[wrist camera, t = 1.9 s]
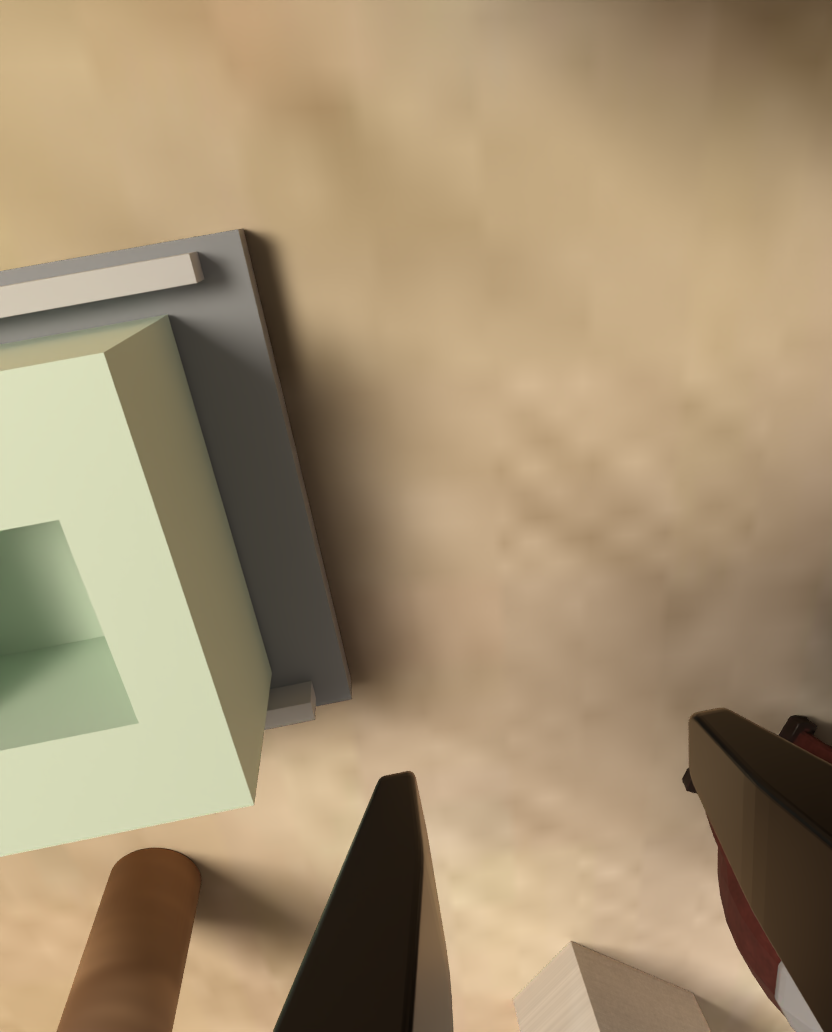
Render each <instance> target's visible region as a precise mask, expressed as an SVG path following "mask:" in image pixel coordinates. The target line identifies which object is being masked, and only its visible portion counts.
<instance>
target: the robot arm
mask: <svg viewBox="0 0 832 1032" xmlns="http://www.w3.org/2000/svg"><path fill="white" fill-rule="evenodd" d="M688 726H689V770H690V775H691V779H692V782H693V784H694V787H695V789H696V791H697V794H698V796H699V798H700V800H701V802H702V804H703V807H704V809H705V811H706V813H707V815H708V817H709V819H710V822H711V824H712V826H713V828H714V830H715V832H716V835H717V837H718V839H719V841H720V843H721V845H722V848H723V850H724V852H725V854H726V856H727V858H728V861H729V863H730V865H731V867H732V869H733V871H734V874H735V876H736V878H737V880H738V882H739V884H740V887H741V889H742V891H743V893H744V895H745V897H746V899H747V901H748V903H749V905H750V907H751V909H752V911H753V913H754V915H755V916H756V918H757V920H758V922H759V923H760V925H761V927H762V929H763V931H764V932H765V934H766V936H767V937H768V939H769V941H770V942H771V944H772V946H773V948H774V949H775V951H776V953H777V954H778V956H779V958H780V959H781V961H782V963H783V964H784V966H785V968H786V969H787V971H788V973H789V975H790V976H791V978H792V980H793V981H794V983H795V985H796V986H797V988H798V990H799V991H800V993H801V995H802V996H803V998H804V1000H805V1002H806V1003H807V1005H808V1007H809V1008H810V1010H811V1012H812V1013H813V1015H814V1017H815V1018H816V1020H817V1022H818V1024H819V1025H820V1027H821V1029H822V1030H823V1032H832V764H830V763H828V762H826V761H824V760H823V759H821V758H819V757H817V756H815V755H813V754H811V753H809V752H808V751H806V750H804V749H802V748H800V747H798V746H796V745H794V744H793V743H791V742H789V741H787V740H785V739H783V738H781V737H780V736H778V735H776V734H774V733H772V732H770V731H768V730H766V729H765V728H763V727H761V726H759V725H757V724H755V723H753V722H751V721H750V720H748V719H746V718H744V717H742V716H740V715H738V714H737V713H735V712H733V711H731V710H729V709H726V708H716V709H711V710H706V711H701V712H696V713H694V714H692V715H691V716H690V719H689V725H688ZM273 1032H453V1014H452V995H451V983H450V971H449V964H448V956H447V949H446V943H445V937H444V931H443V925H442V919H441V913H440V907H439V901H438V895H437V889H436V883H435V877H434V871H433V865H432V859H431V853H430V847H429V841H428V835H427V829H426V824H425V819H424V815H423V810H422V805H421V800H420V796H419V791H418V786H417V781H416V777H415V775H414V773H413V772H411V771H406V772H401V773H396V774H391V775H386V776H383V777H381V778H380V779H379V781H378V783H377V785H376V787H375V789H374V792H373V794H372V797H371V799H370V801H369V804H368V806H367V809H366V811H365V813H364V816H363V818H362V820H361V823H360V825H359V828H358V830H357V832H356V835H355V837H354V839H353V842H352V844H351V847H350V849H349V851H348V854H347V856H346V859H345V861H344V863H343V866H342V868H341V870H340V873H339V875H338V878H337V880H336V882H335V885H334V887H333V889H332V892H331V894H330V897H329V899H328V901H327V904H326V906H325V909H324V911H323V913H322V916H321V918H320V920H319V923H318V925H317V928H316V930H315V932H314V935H313V937H312V939H311V942H310V944H309V947H308V949H307V951H306V954H305V956H304V959H303V961H302V963H301V966H300V968H299V970H298V973H297V975H296V978H295V980H294V982H293V985H292V987H291V989H290V992H289V994H288V997H287V999H286V1001H285V1004H284V1006H283V1009H282V1011H281V1013H280V1016H279V1018H278V1020H277V1023H276V1025H275V1028H274V1030H273Z"/></svg>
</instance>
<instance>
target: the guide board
mask: <svg viewBox="0 0 832 1032" xmlns="http://www.w3.org/2000/svg"><path fill="white" fill-rule="evenodd" d="M167 314H168V317H169V321H170V324H171V327H172V331H173V334H174V338H175V341H176V345H177V348H178V351H179V355H180V358H181V362H182V365H183V369H184V372H185V375H186V379H187V382H188V386H189V389H190V393H191V396H192V400H193V403H194V406H195V410H196V413H197V417H198V420H199V424H200V427H201V430H202V434H203V437H204V441H205V444H206V448H207V451H208V454H209V458H210V461H211V465H212V468H213V472H214V475H215V479H216V482H217V485H218V489H219V492H220V496H221V499H222V503H223V506H224V509H225V513H226V516H227V520H228V523H229V527H230V530H231V533H232V537H233V540H234V544H235V547H236V551H237V554H238V558H239V561H240V564H241V568H242V571H243V575H244V578H245V582H246V585H247V588H248V592H249V595H250V599H251V602H252V606H253V609H254V612H255V616H256V619H257V623H258V626H259V630H260V633H261V637H262V640H263V643H264V647H265V650H266V654H267V657H268V661H269V664H270V667H271V671H272V677H271V684H270V691H269V699H268V706H267V714H266V721H265V728H264V730H266V729H271V728H276V727H281V726H286V725H291V724H296V723H301V722H306V721H311V720H315V711H316V706H320V705H325V704H330V703H335V702H340V701H345V700H350V699H352V692H351V677H350V673H349V669H348V664H347V660H346V656H345V652H344V648H343V644H342V639H341V635H340V631H339V627H338V623H337V619H336V614H335V610H334V606H333V602H332V598H331V593H330V589H329V585H328V581H327V577H326V573H325V568H324V564H323V560H322V556H321V552H320V547H319V543H318V539H317V535H316V531H315V527H314V522H313V518H312V514H311V510H310V506H309V501H308V497H307V493H306V489H305V485H304V481H303V476H302V472H301V468H300V464H299V460H298V456H297V451H296V447H295V443H294V439H293V435H292V430H291V426H290V422H289V418H288V414H287V410H286V405H285V401H284V397H283V393H282V389H281V384H280V380H279V376H278V372H277V368H276V364H275V359H274V355H273V351H272V347H271V343H270V338H269V334H268V330H267V326H266V322H265V318H264V313H263V309H262V305H261V301H260V297H259V293H258V288H257V284H256V280H255V276H254V272H253V267H252V263H251V259H250V255H249V251H248V247H247V242H246V238H245V234H244V230H243V229H237V230H232V231H226V232H220V233H215V234H209V235H203V236H198V237H192V238H186V239H181V240H175V241H169V242H163V243H158V244H152V245H146V246H141V247H135V248H129V249H124V250H118V251H112V252H107V253H101V254H95V255H90V256H84V257H78V258H73V259H67V260H61V261H56V262H50V263H44V264H39V265H33V266H27V267H21V268H16V269H10V270H4V271H0V344H6V343H11V342H17V341H22V340H28V339H34V338H39V337H45V336H50V335H56V334H61V333H67V332H73V331H78V330H84V329H89V328H95V327H100V326H106V325H112V324H117V323H123V322H128V321H134V320H139V319H145V318H151V317H156V316H162V315H167Z"/></svg>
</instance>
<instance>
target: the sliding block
mask: <svg viewBox="0 0 832 1032" xmlns="http://www.w3.org/2000/svg"><path fill="white" fill-rule="evenodd" d="M271 677H272V671H271V667H270V664H269V661H268V657H267V654H266V650H265V647H264V643H263V640H262V637H261V633H260V630H259V626H258V623H257V619H256V616H255V612H254V609H253V606H252V602H251V599H250V595H249V592H248V588H247V585H246V582H245V578H244V575H243V571H242V568H241V564H240V561H239V558H238V554H237V551H236V547H235V544H234V540H233V537H232V533H231V530H230V527H229V523H228V520H227V516H226V513H225V509H224V506H223V503H222V499H221V496H220V492H219V489H218V485H217V482H216V479H215V475H214V472H213V468H212V465H211V461H210V458H209V454H208V451H207V448H206V444H205V441H204V437H203V434H202V430H201V427H200V424H199V420H198V417H197V413H196V410H195V406H194V403H193V400H192V396H191V393H190V389H189V386H188V382H187V379H186V375H185V372H184V369H183V365H182V362H181V358H180V355H179V351H178V348H177V345H176V341H175V338H174V334H173V331H172V327H171V324H170V321H169V317H168V314H167V315H162V316H156V317H151V318H145V319H139V320H134V321H128V322H123V323H117V324H112V325H106V326H100V327H95V328H89V329H84V330H78V331H73V332H67V333H61V334H56V335H50V336H45V337H39V338H34V339H28V340H22V341H17V342H11V343H6V344H0V857H2V856H7V855H12V854H17V853H22V852H27V851H32V850H36V849H41V848H46V847H51V846H56V845H61V844H66V843H71V842H76V841H81V840H86V839H91V838H95V837H100V836H105V835H110V834H115V833H120V832H125V831H130V830H135V829H140V828H145V827H150V826H154V825H159V824H164V823H169V822H174V821H179V820H184V819H189V818H194V817H199V816H204V815H209V814H213V813H218V812H223V811H228V810H233V809H238V808H243V807H248V806H253V805H254V802H255V795H256V788H257V780H258V773H259V765H260V758H261V751H262V743H263V736H264V728H265V721H266V714H267V706H268V699H269V691H270V684H271Z"/></svg>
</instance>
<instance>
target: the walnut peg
mask: <svg viewBox="0 0 832 1032" xmlns="http://www.w3.org/2000/svg"><path fill="white" fill-rule="evenodd" d="M200 888H201V875H200V872H199V870H198V868H197V867H196V865H195V864H194V863H193V862H192V861H191V860H190V859H189V858H187V857H186V856H184V855H182V854H180V853H178V852H175V851H172V850H168V849H161V848H148V849H142V850H138V851H135V852H132V853H130V854H128V855H126V856H124V857H123V858H121V859H120V860H119V861H118V862H117V863H116V864H115V865H114V867H113V869H112V871H111V873H110V876H109V879H108V882H107V885H106V888H105V891H104V894H103V897H102V900H101V903H100V906H99V908H98V911H97V914H96V917H95V920H94V923H93V926H92V929H91V932H90V935H89V938H88V941H87V944H86V947H85V950H84V953H83V956H82V958H81V961H80V964H79V967H78V970H77V973H76V976H75V979H74V982H73V985H72V988H71V991H70V994H69V997H68V1000H67V1003H66V1005H65V1008H64V1011H63V1014H62V1017H61V1020H60V1023H59V1026H58V1029H57V1032H172V1029H173V1024H174V1019H175V1014H176V1009H177V1004H178V999H179V994H180V988H181V983H182V978H183V973H184V968H185V963H186V958H187V953H188V948H189V943H190V938H191V933H192V928H193V923H194V918H195V913H196V908H197V903H198V898H199V893H200Z"/></svg>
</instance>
